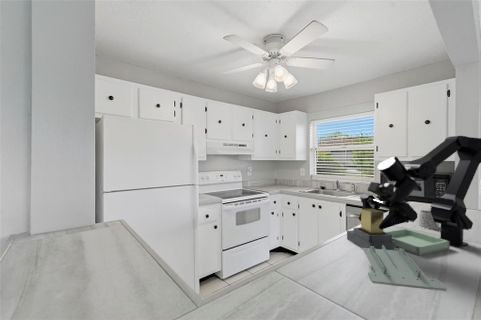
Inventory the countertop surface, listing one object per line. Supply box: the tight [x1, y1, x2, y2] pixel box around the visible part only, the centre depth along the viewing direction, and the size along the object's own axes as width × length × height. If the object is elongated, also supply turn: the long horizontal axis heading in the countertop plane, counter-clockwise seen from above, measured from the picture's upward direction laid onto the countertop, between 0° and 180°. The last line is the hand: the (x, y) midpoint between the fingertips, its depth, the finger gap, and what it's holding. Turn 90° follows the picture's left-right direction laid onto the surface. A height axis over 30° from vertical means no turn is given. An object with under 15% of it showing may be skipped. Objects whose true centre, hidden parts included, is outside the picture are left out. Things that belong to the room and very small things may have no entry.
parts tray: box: [384, 228, 451, 257], centre depth 73 cm, size 16×14×2 cm
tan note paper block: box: [360, 208, 385, 235], centre depth 71 cm, size 4×4×9 cm
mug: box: [418, 209, 440, 230], centre depth 94 cm, size 10×7×7 cm, turn 147°
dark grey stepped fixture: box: [346, 227, 395, 250], centre depth 72 cm, size 8×12×5 cm
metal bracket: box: [362, 245, 447, 292], centre depth 54 cm, size 14×6×15 cm
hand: (369, 224), depth 71 cm, fingers open, 9 cm apart
